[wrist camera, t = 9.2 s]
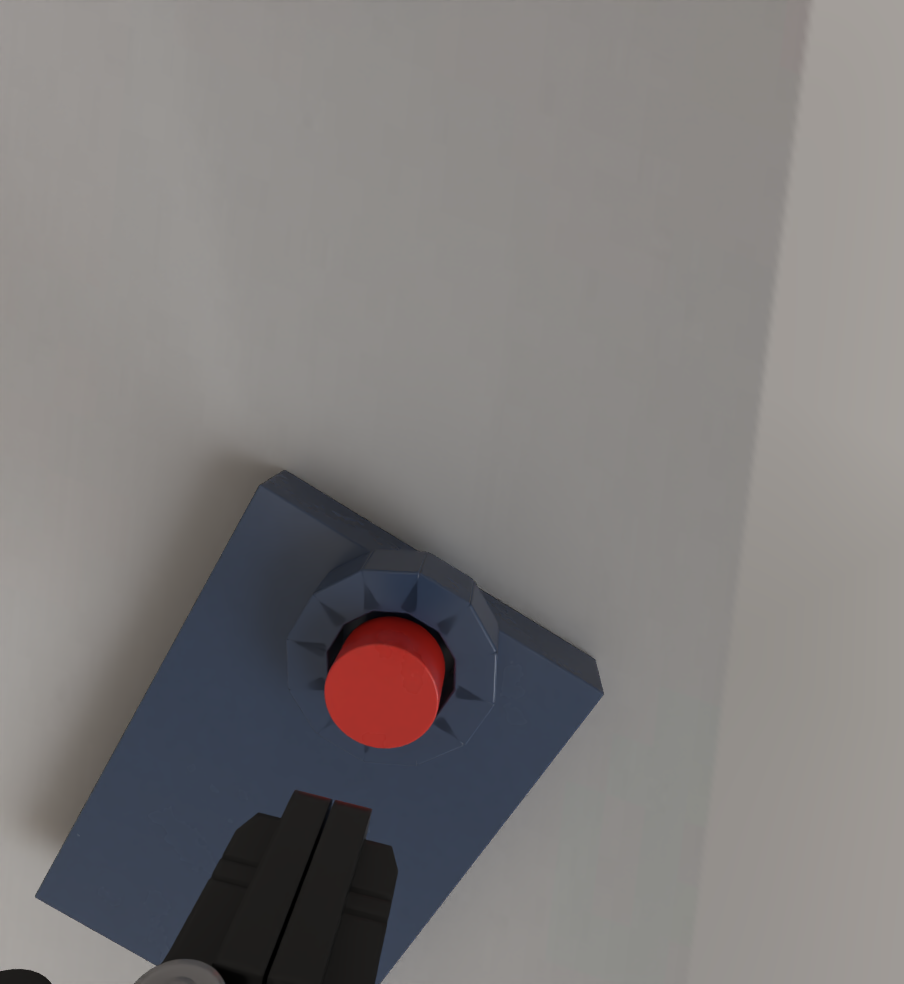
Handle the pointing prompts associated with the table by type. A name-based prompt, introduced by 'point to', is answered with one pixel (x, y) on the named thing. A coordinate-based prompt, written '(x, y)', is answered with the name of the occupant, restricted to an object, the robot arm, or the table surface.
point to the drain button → (386, 683)
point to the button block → (315, 725)
